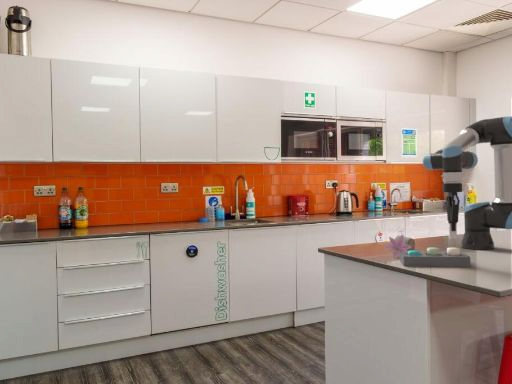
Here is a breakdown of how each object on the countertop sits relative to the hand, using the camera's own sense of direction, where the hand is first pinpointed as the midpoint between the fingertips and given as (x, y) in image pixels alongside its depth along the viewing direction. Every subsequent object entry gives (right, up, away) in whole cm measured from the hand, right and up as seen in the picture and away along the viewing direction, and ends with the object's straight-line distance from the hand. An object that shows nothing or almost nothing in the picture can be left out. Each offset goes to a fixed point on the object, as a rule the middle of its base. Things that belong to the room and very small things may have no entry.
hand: (452, 238), depth 184 cm
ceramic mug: (-8, -10, +35) cm, 37 cm away
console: (-7, -11, +2) cm, 13 cm away
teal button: (-15, -10, +3) cm, 18 cm away
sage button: (-7, -8, +2) cm, 11 cm away
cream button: (0, -8, 0) cm, 8 cm away
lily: (-17, -11, +20) cm, 28 cm away
